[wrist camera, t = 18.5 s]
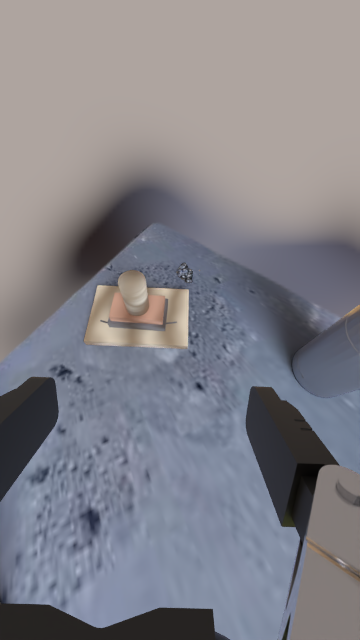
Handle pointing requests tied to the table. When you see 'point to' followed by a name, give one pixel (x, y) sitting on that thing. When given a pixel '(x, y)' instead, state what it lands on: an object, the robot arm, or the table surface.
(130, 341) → the board
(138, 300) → the block
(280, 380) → the table surface
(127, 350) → the table surface
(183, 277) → the gravel pile
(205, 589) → the table surface
